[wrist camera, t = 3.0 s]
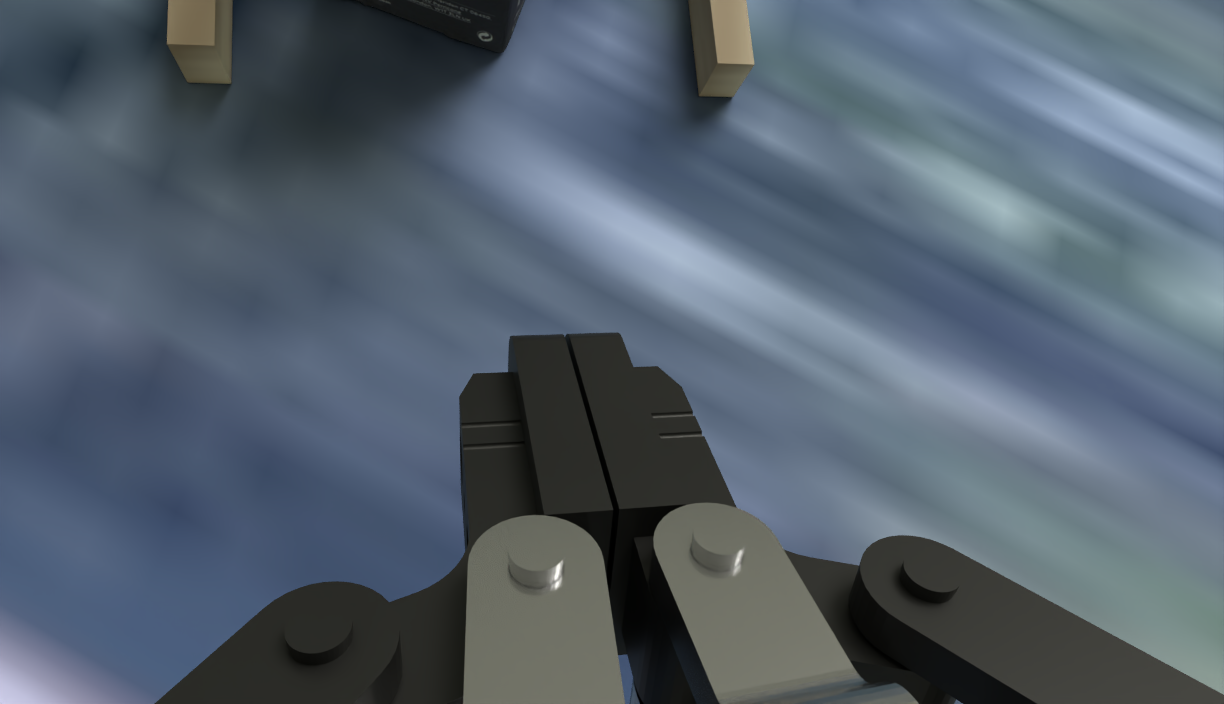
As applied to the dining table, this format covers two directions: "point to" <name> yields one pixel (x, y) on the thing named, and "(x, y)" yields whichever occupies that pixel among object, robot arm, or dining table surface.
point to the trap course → (714, 15)
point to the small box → (460, 18)
